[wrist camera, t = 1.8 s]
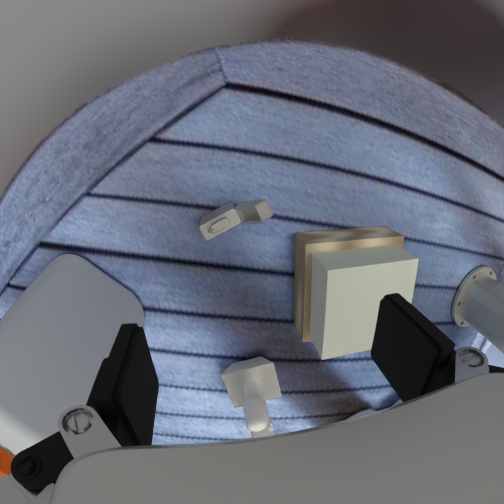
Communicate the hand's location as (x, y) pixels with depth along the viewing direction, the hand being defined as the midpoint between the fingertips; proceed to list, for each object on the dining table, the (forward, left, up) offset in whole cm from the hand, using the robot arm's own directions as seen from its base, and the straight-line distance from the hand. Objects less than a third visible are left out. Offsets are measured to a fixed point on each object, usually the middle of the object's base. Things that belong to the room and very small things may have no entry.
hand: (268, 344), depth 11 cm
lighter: (0, 0, -26) cm, 26 cm away
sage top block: (-14, +10, -21) cm, 27 cm away
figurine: (-1, +24, -26) cm, 35 cm away
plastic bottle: (+21, +12, -26) cm, 35 cm away
